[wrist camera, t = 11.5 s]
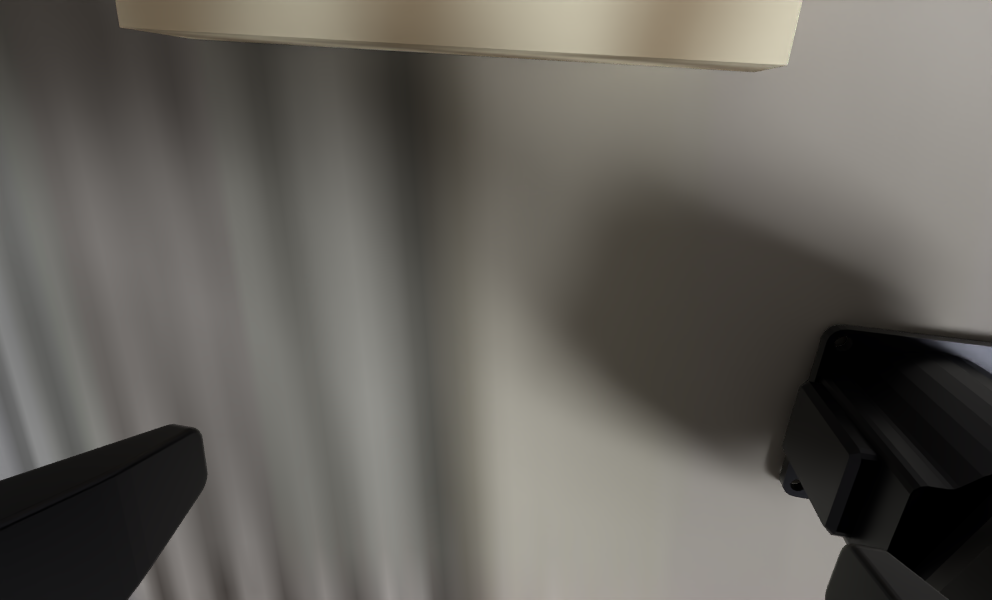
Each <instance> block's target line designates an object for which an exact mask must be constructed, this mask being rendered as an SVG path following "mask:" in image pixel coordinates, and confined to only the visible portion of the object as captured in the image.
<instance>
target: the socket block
mask: <svg viewBox="0 0 992 600" xmlns="http://www.w3.org/2000/svg"><path fill="white" fill-rule="evenodd" d="M802 1H803V0H115V2H116V8H117V14H118V20H119V26H120V28H126V29H133V30H139V31H145V32H152V33H158V34H164V35H170V36H177V37H183V38H189V39H201V40H218V41H235V42H252V43H269V44H286V45H303V46H320V47H337V48H354V49H371V50H388V51H405V52H422V53H439V54H456V55H473V56H490V57H507V58H524V59H541V60H558V61H575V62H592V63H609V64H626V65H643V66H660V67H677V68H694V69H711V70H728V71H745V72H757V71H762V70H767V69H772V68H777V67H781V66H786V65H788V61H789V57H790V52H791V48H792V44H793V39H794V35H795V31H796V27H797V22H798V18H799V14H800V10H801V5H802Z"/></svg>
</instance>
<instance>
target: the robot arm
mask: <svg viewBox="0 0 992 600" xmlns="http://www.w3.org/2000/svg"><path fill="white" fill-rule="evenodd" d="M844 336H846V337H847V341H846V342H845V343H844V344H843V345H841V346H835V342H836V340H837V339H838V338H840V337H844ZM782 448H783V450H784V452H785V454H786V457H785V460H784V463H783V467H782V470H781V473H780V482H781V484H782V486H783V488H784V490H785V492H786V493H788V494H789V495H791V496H794V497H800V498H806V499H809V500H810V502H811V503H812V505H813V507H814V509H815V511H816V513H817V515H818V517H819V519H820V521H821V522H822V524H823V526H824V527H825V528H826V530H827V531H828V532H829V533H830V534H831V535H834V536H840V537H843V538H844V540H845V542H846V544H847V545H845V546H844V547H843V548H842V550H841V552H840V554H839V557H838V559H837V562H836V565H835V568H834V570H833V573H832V576H831V578H830V581H829V584H828V586H827V589H826V594H825V600H992V343H991V342H983V341H975V340H966V339H958V338H950V337H942V336H933V335H925V334H917V333H908V332H900V331H892V330H884V329H875V328H867V327H859V326H850V325H835V326H832V327H830V328H828V329H827V330H826V331H825V332H824V334H823V336H822V338H821V341H820V345H819V348H818V351H817V354H816V358H815V361H814V364H813V368H812V371H811V374H810V378H809V381H807V382H806V383H804V384H803V385H802V386H800V388H799V391H798V395H797V398H796V401H795V405H794V408H793V411H792V415H791V418H790V421H789V425H788V428H787V431H786V435H785V438H784V441H783V445H782ZM796 479H799V481H800V482H799V483H797V484H792V483H791V482H792V481H794V480H796ZM206 480H207V466H206V459H205V452H204V445H203V438H202V434H201V433H200V431H199V430H198V429H196V428H194V427H188V426H182V425H176V424H170V425H166V426H163V427H160V428H157V429H154V430H151V431H148V432H145V433H142V434H139V435H136V436H133V437H130V438H127V439H124V440H121V441H118V442H115V443H112V444H109V445H106V446H103V447H100V448H97V449H94V450H91V451H88V452H85V453H82V454H79V455H76V456H73V457H70V458H67V459H64V460H61V461H58V462H55V463H52V464H49V465H46V466H43V467H40V468H37V469H34V470H31V471H28V472H25V473H22V474H19V475H16V476H13V477H10V478H7V479H4V480H1V481H0V600H128V599H129V597H130V596H131V595H132V593H133V592H134V591H135V589H136V588H137V587H138V586H139V584H140V583H141V581H142V580H143V578H144V577H145V576H146V574H147V573H148V571H149V570H150V569H151V567H152V566H153V564H154V563H155V561H156V560H157V558H158V557H159V555H160V554H161V552H162V551H163V549H164V548H165V546H166V545H167V543H168V542H169V540H170V539H171V537H172V536H173V534H174V533H175V531H176V530H177V528H178V527H179V525H180V524H181V522H182V521H183V519H184V518H185V516H186V515H187V513H188V512H189V510H190V509H191V507H192V506H193V504H194V503H195V501H196V500H197V498H198V497H199V495H200V494H201V492H202V490H203V488H204V486H205V484H206Z"/></svg>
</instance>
